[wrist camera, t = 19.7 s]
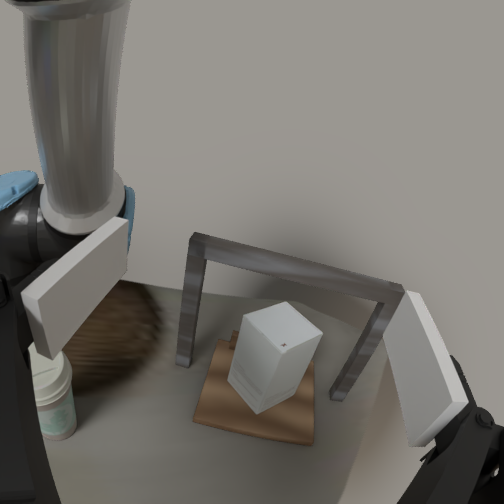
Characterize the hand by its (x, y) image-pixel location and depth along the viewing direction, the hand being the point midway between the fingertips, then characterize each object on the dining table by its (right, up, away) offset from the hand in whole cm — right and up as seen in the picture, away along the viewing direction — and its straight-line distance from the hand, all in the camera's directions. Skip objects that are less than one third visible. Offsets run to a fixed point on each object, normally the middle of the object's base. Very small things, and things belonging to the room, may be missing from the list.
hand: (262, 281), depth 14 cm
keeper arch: (+1, -19, +30) cm, 36 cm away
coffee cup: (-25, -20, +17) cm, 36 cm away
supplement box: (+1, -18, +30) cm, 35 cm away
